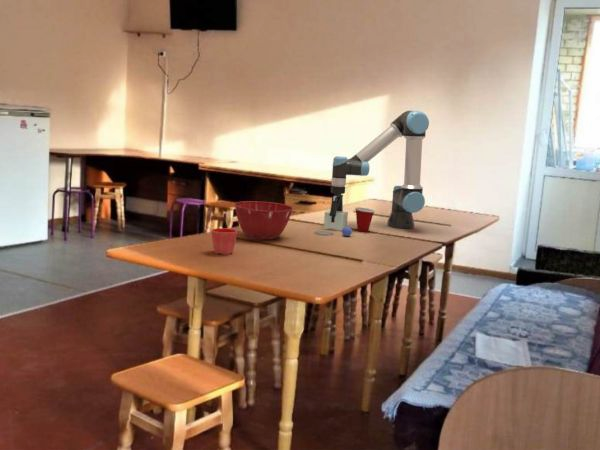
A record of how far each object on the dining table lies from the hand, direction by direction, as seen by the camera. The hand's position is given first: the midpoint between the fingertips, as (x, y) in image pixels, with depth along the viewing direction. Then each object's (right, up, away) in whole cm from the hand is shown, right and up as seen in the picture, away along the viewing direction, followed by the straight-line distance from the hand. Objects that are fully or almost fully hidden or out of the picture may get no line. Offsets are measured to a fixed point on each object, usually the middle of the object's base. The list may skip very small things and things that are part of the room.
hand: (335, 226), depth 369 cm
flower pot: (-51, -11, -77) cm, 93 cm away
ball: (+5, -2, -21) cm, 22 cm away
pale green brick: (0, -1, 0) cm, 1 cm away
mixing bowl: (-37, -5, -37) cm, 53 cm away
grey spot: (-7, -3, -17) cm, 19 cm away
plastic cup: (+15, -2, -2) cm, 15 cm away
